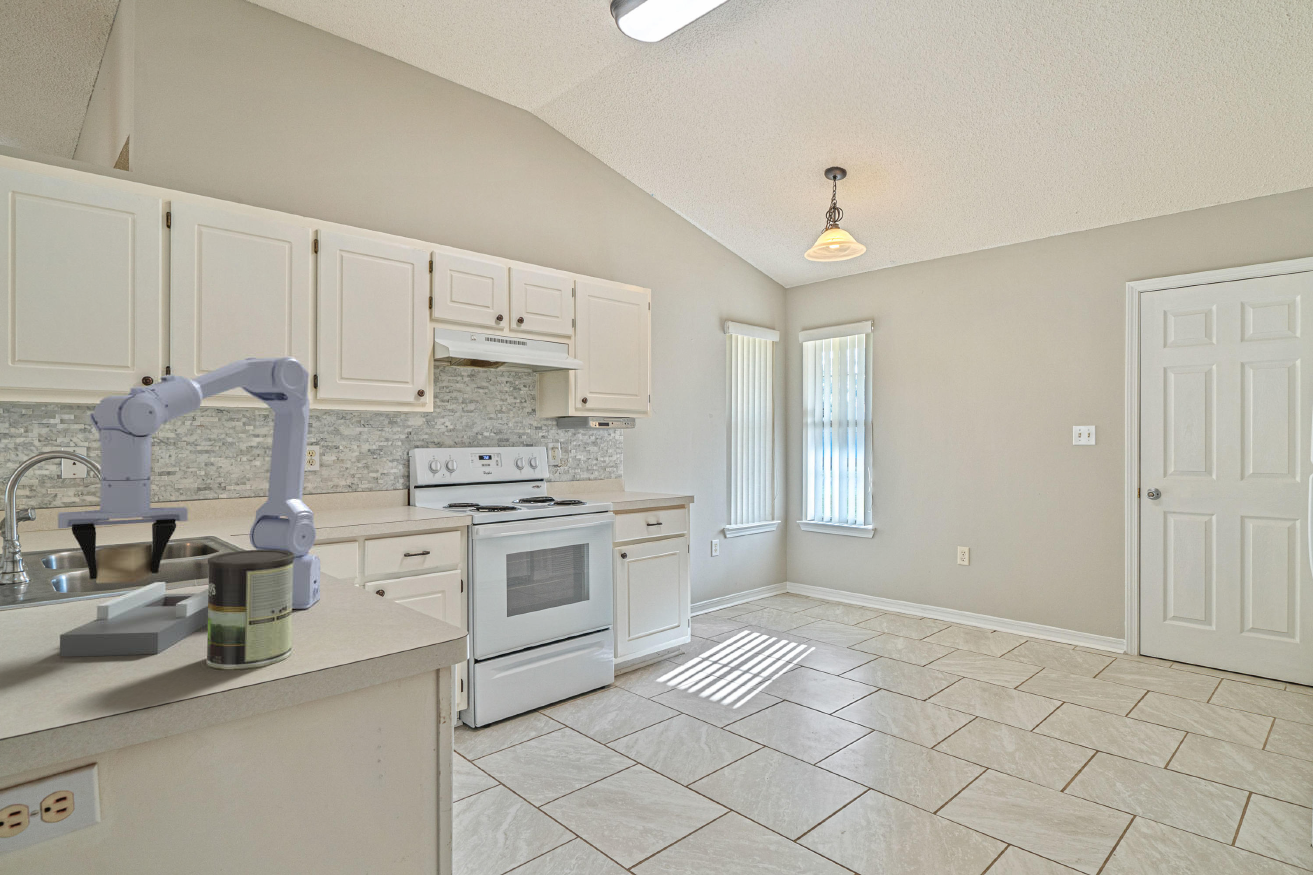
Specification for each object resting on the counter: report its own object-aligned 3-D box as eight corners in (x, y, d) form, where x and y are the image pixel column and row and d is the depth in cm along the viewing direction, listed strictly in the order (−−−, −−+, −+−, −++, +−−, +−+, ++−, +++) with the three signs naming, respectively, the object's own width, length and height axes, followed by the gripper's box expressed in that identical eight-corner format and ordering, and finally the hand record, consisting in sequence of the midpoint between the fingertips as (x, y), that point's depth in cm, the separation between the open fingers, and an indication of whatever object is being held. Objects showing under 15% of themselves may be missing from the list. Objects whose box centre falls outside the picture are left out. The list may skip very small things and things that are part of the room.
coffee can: (198, 674, 89) (200, 564, 88) (214, 650, 98) (215, 551, 98) (289, 665, 93) (291, 560, 93) (295, 643, 102) (297, 547, 102)
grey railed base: (232, 609, 120) (232, 581, 120) (157, 653, 96) (158, 617, 96) (155, 611, 118) (155, 582, 118) (59, 657, 94) (60, 620, 94)
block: (151, 575, 101) (151, 544, 101) (133, 582, 96) (134, 549, 96) (115, 576, 100) (116, 544, 100) (96, 583, 95) (96, 549, 95)
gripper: (183, 476, 106) (182, 564, 106) (58, 479, 96) (56, 576, 96) (190, 479, 101) (188, 572, 101) (58, 482, 91) (57, 585, 91)
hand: (124, 575), depth 98 cm, fingers closed on block, 6 cm apart
